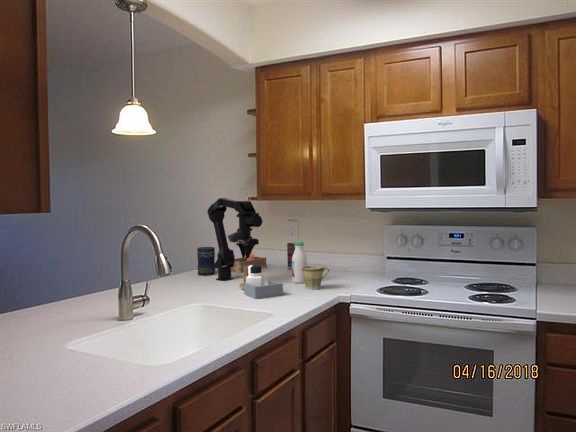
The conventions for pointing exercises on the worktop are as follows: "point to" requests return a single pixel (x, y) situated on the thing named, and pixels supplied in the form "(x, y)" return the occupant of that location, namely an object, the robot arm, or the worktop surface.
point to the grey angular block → (264, 290)
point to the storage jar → (206, 261)
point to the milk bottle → (298, 263)
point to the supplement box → (290, 254)
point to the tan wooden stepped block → (244, 277)
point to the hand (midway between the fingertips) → (245, 257)
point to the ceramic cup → (313, 276)
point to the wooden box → (247, 263)
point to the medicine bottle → (255, 275)
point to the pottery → (251, 257)
